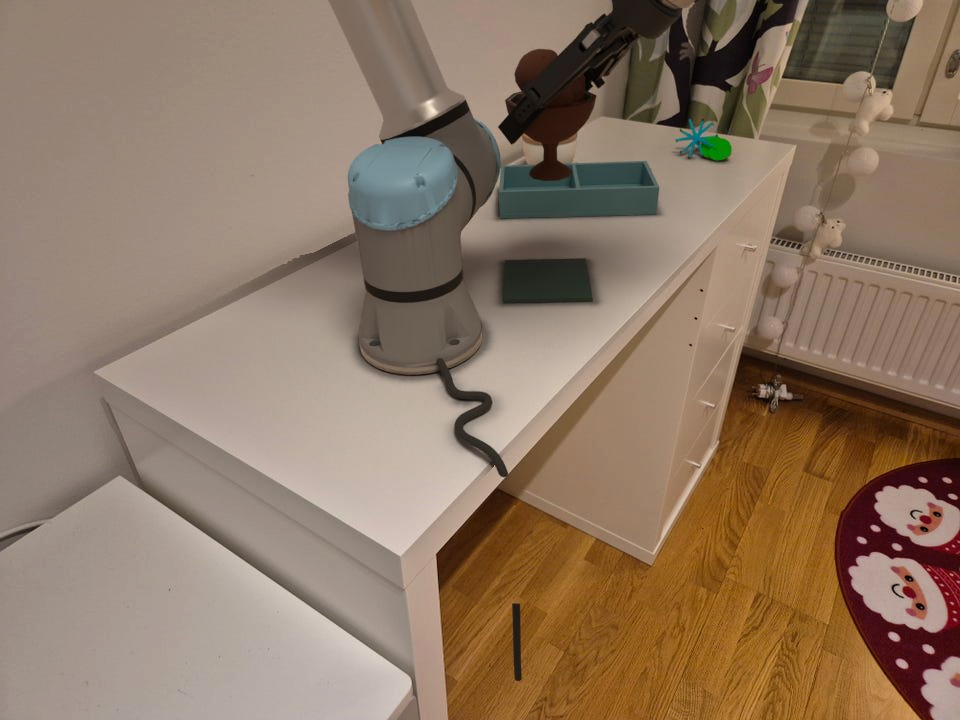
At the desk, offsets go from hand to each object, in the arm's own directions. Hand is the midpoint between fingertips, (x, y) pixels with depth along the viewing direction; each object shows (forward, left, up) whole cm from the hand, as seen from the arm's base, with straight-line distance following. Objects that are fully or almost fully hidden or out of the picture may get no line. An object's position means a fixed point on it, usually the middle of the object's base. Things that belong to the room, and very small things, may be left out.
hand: (530, 123), depth 83 cm
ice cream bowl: (-2, -2, -6) cm, 7 cm away
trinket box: (+44, -4, -22) cm, 50 cm away
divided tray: (+27, -8, -21) cm, 36 cm away
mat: (-3, -2, -21) cm, 22 cm away
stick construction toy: (+51, -36, -22) cm, 66 cm away
